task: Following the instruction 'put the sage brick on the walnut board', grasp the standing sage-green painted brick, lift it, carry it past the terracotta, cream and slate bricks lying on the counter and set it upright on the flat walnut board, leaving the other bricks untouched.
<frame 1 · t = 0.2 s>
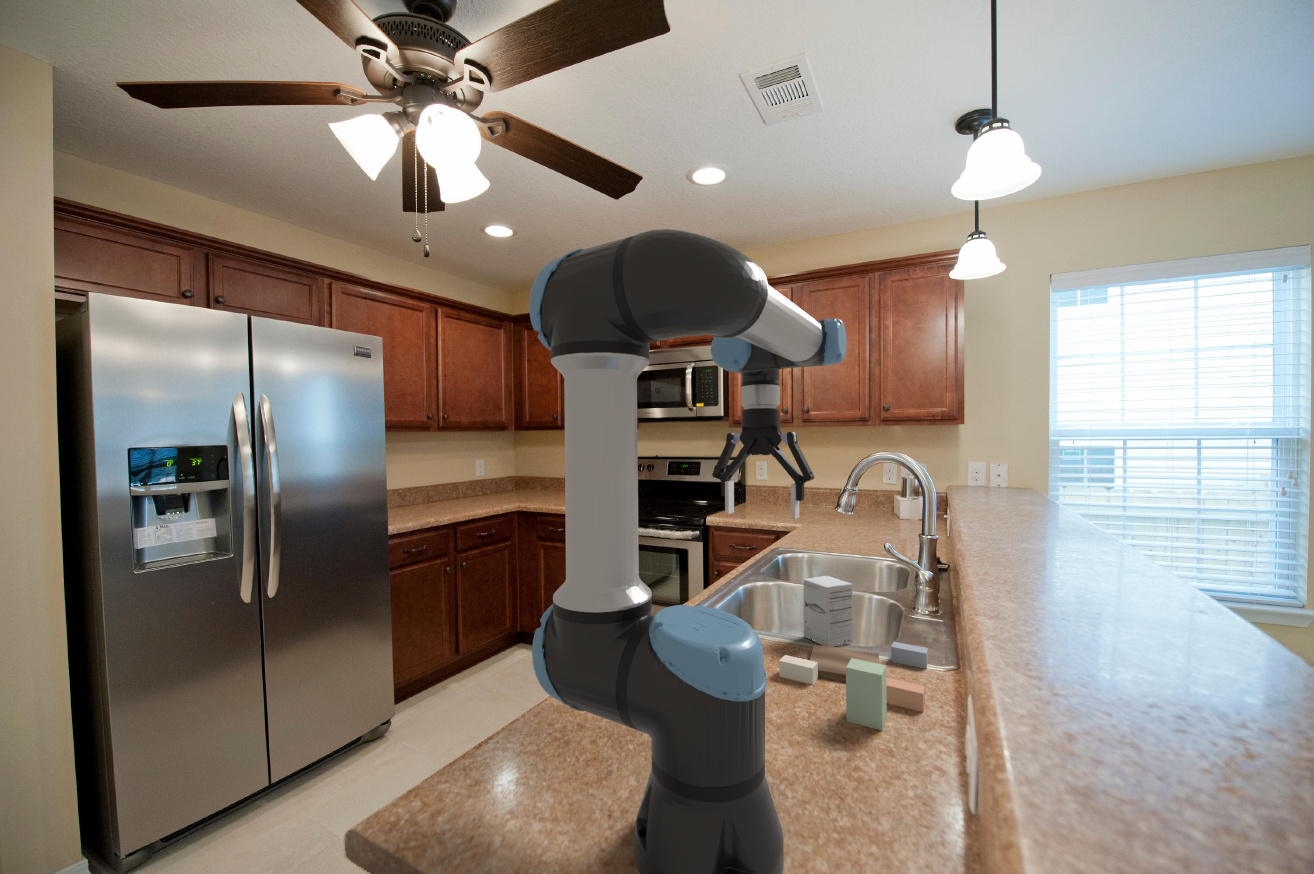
hand: (761, 515, 101), 28 cm above the countertop, fingers open, 13 cm apart
slate brick: (909, 663, 97), on the countertop
sage brick: (866, 719, 77), on the countertop
cream brick: (798, 678, 91), on the countertop
supplement box: (828, 641, 109), on the countertop
walnut board: (844, 667, 95), on the countertop
terracotta brick: (903, 703, 82), on the countertop
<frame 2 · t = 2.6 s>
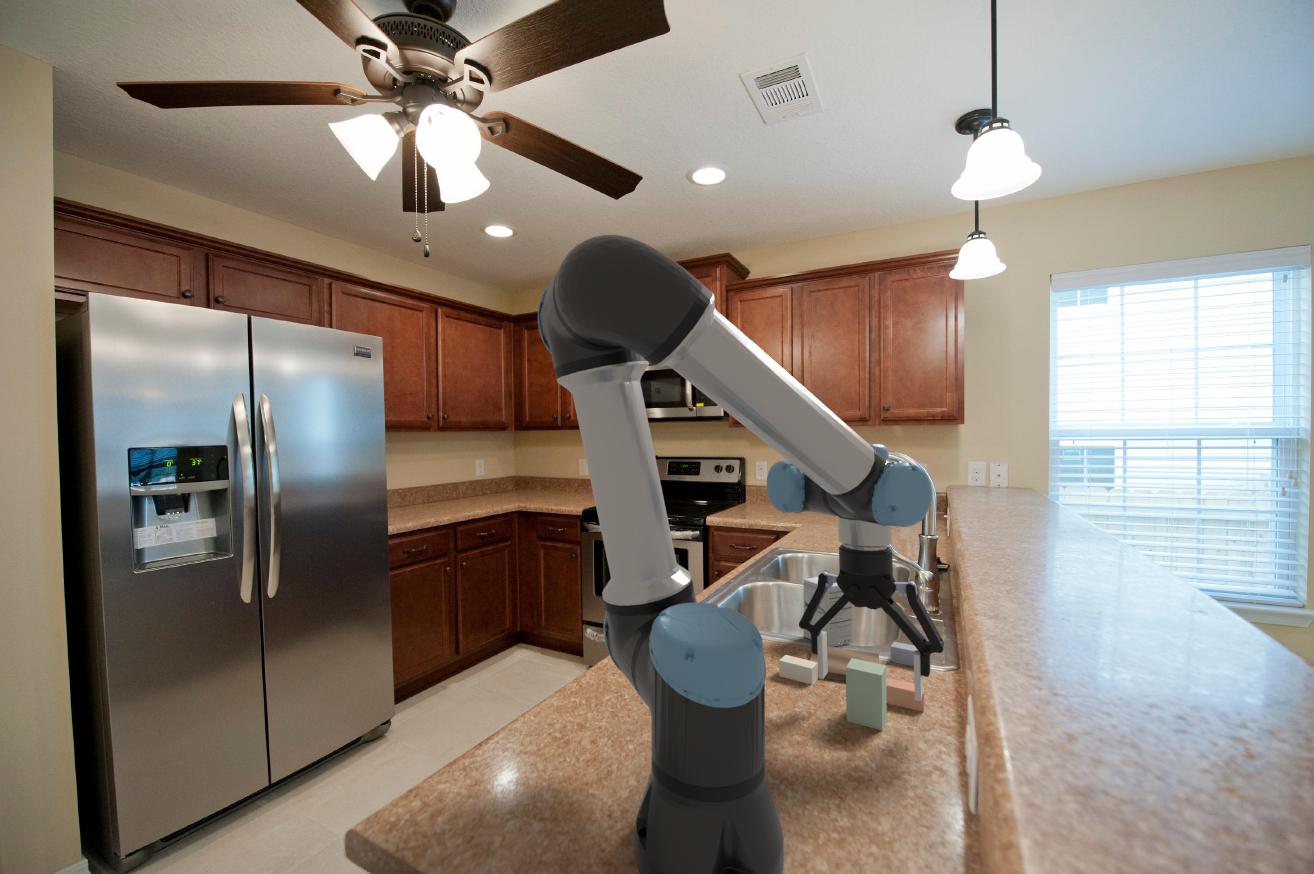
hand: (868, 685, 77), 5 cm above the countertop, fingers open, 13 cm apart
nothing on the countertop moved.
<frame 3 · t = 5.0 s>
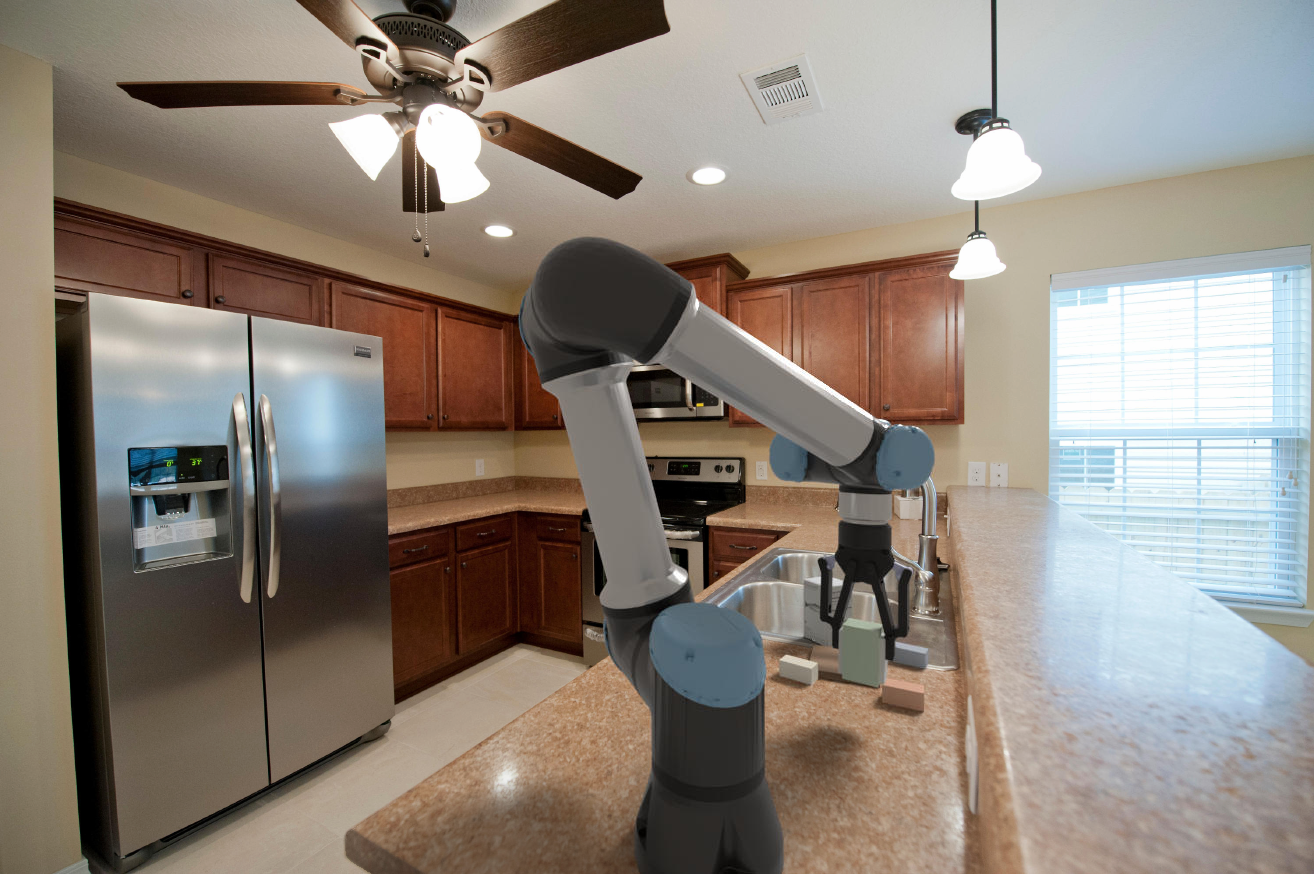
hand: (862, 675, 77), 7 cm above the countertop, fingers closed on sage brick, 5 cm apart
sage brick: (862, 677, 77), point 6 cm above the countertop, touching gripper
everything else where it was.
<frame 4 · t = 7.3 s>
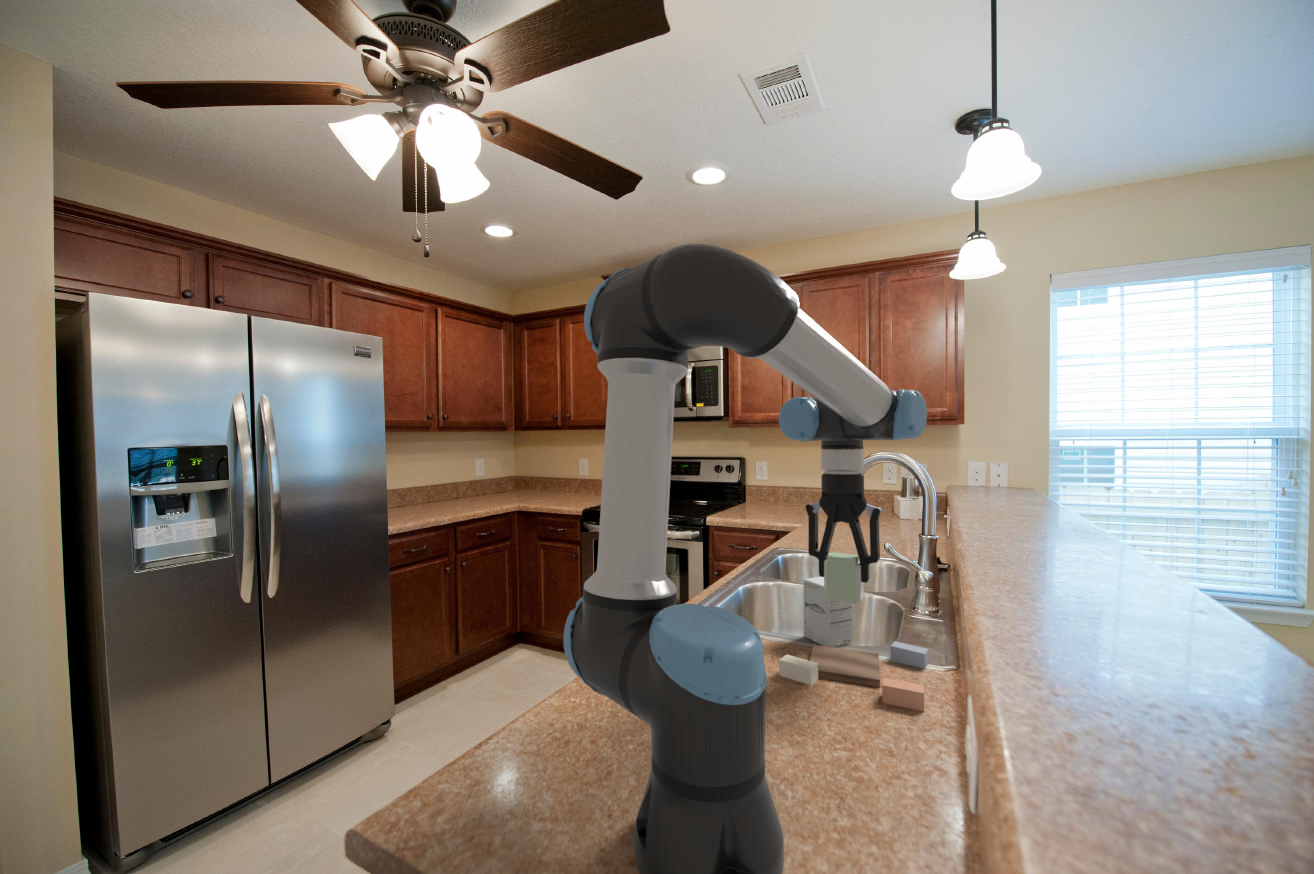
hand: (843, 596, 96), 13 cm above the countertop, fingers closed on sage brick, 5 cm apart
sage brick: (843, 598, 96), point 13 cm above the countertop, touching gripper
everything else where it was.
when the fingers open (3 cm above the countertop, at t = 9.7 s): sage brick stays where it is, resting on walnut board.
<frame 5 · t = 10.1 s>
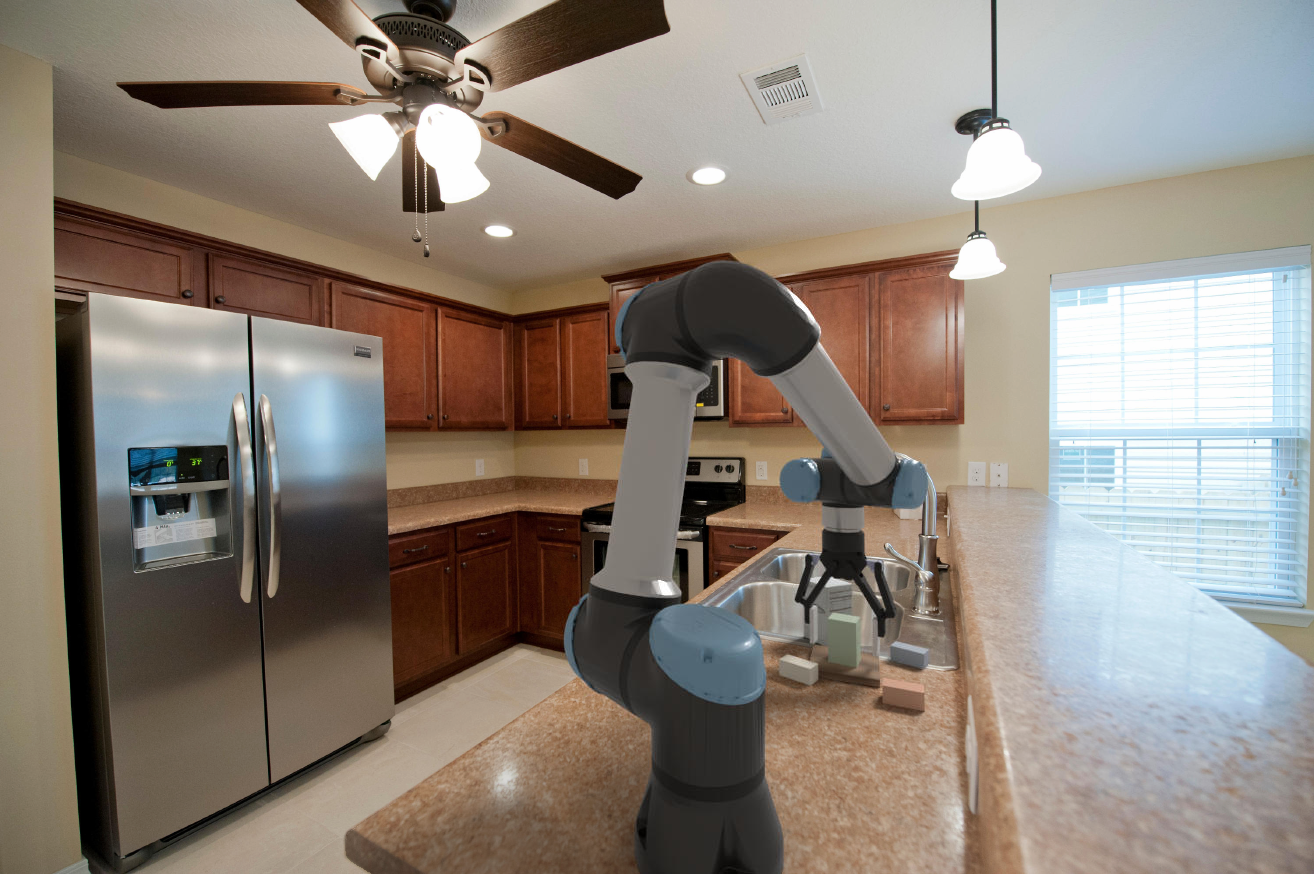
hand: (844, 647, 95), 4 cm above the countertop, fingers open, 10 cm apart
sage brick: (844, 660, 95), point 1 cm above the countertop, touching walnut board
everything else where it was.
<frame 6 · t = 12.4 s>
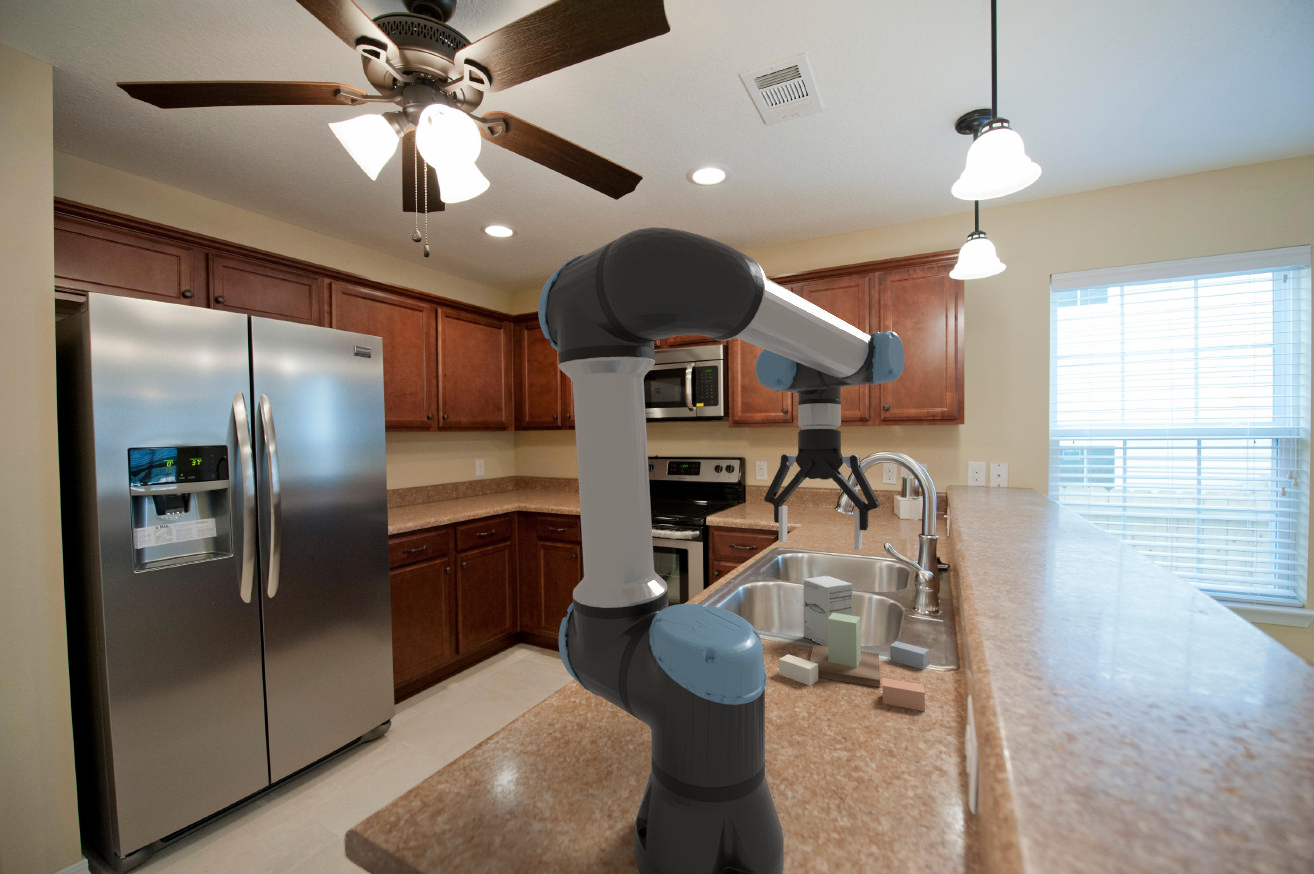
hand: (819, 544, 93), 23 cm above the countertop, fingers open, 13 cm apart
nothing on the countertop moved.
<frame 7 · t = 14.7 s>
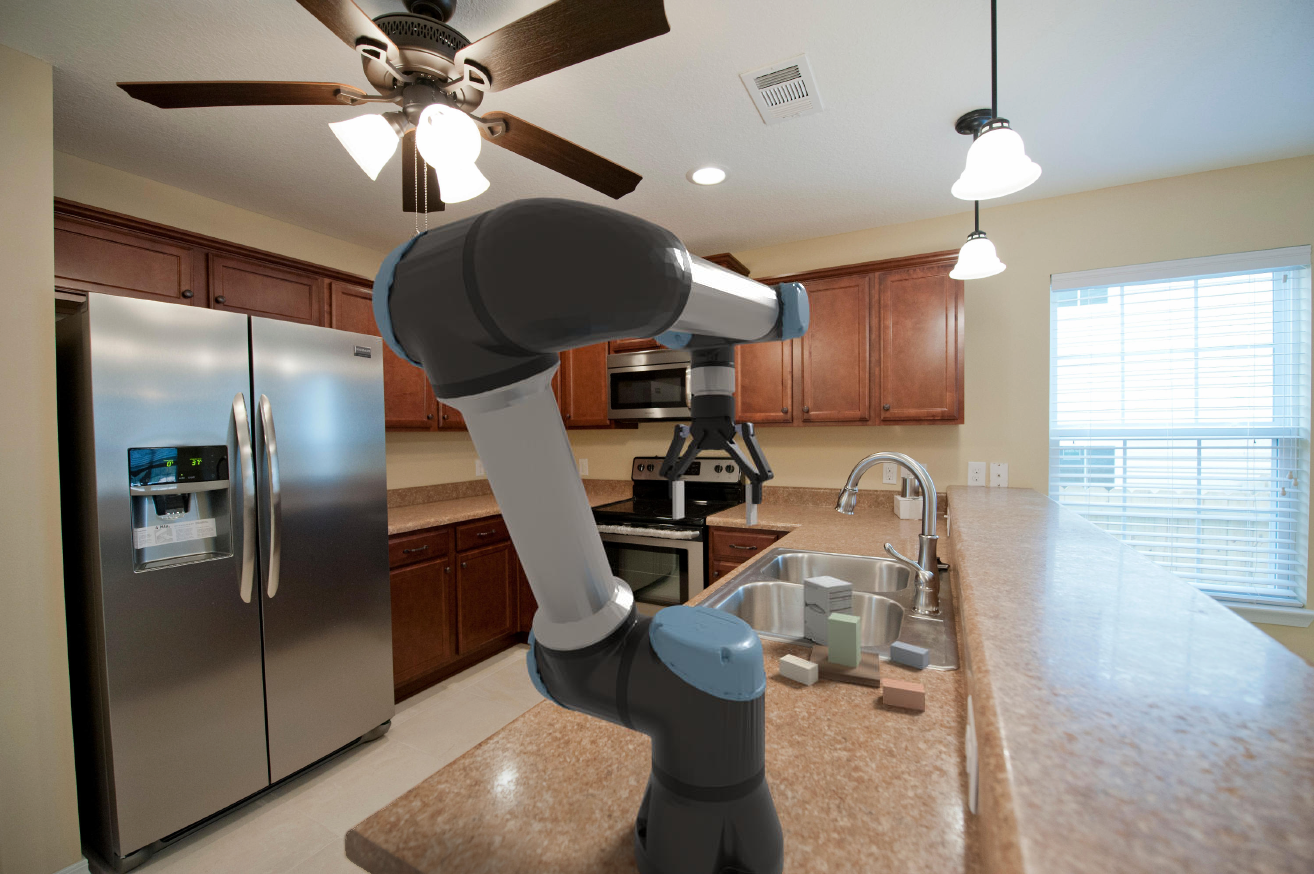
hand: (713, 521, 86), 29 cm above the countertop, fingers open, 13 cm apart
nothing on the countertop moved.
at the end: sage brick inside the target area on the walnut board (0.1 cm from its centre), point 1.2 cm above the walnut board's base; sage brick tilted 0°; terracotta brick moved 0.2 cm from its start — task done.
